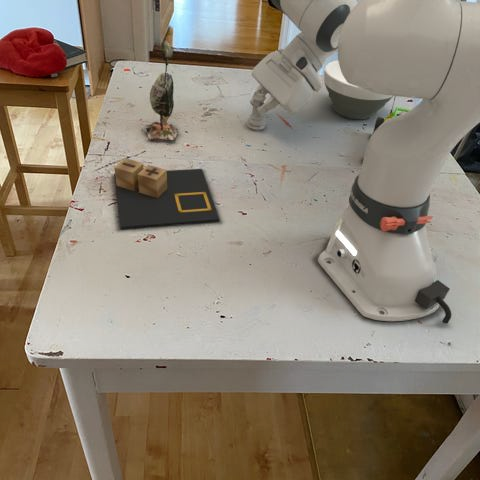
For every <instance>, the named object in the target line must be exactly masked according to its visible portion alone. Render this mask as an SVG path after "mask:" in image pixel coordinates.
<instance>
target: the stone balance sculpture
mask: <svg viewBox="0 0 480 480" xmlns="http://www.w3.org/2000/svg"><path fill="white" fill-rule="evenodd" d="M161 49H162V50H161V51H162V57H161V58H162V60H163V61H165V63H164V64H165V72H162V73H161V74H159V75H158V76H157V78H156V80H155V81H154V83H153V84H152V86H151V88H150V90H149V102H150V105H151V109H152V111H153V112H154V113H155V114H157V115H159V121H154V122H153V121H152V123H151V124H146V126H145V128H144V132H146V133H145V134H146V135H147V136H148V140H150V141H151V140H155V139H159V140H163V141H165V140H166V141H169V142H173V141H176V139H177V136H178V134H179V129H178V128H176V127H175V126H174V125H173V124H172V123H170V124H169V123H168V121H169V119H170V118H171V116H172V114H173V110H174V107H175V106H174V105H175V104H174V102H175V101H174V79H173V76H172V75H171V74H170V73H168V72H167V71H168V66H169V60H171V59H172V58H173V54H174V53H173V49H172V46H171V44H170V43H169V42H168V40H165V41H163V42H162V45H161ZM171 73H174V71H171Z"/></svg>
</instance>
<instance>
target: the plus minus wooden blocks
mask: <svg viewBox="0 0 480 480" xmlns="http://www.w3.org/2000/svg"><path fill="white" fill-rule="evenodd" d="M167 171H168V170H167V169H164V168H161V167H158V166H154V165H151V164H147V165H146V166H145V165H144V162H140V161H136V160H134V159H131V158H126V157H125V158H123V159H122V160H121V161H120V162H119V163H117V164H116V165H115V166H114V174H115V177H116V185H117V186H119V187H122V188H126V189H129V190H132V191H135V190H136V189H137V188H138V187H139V193H142V194H145V195H149V196H152V197H155V198H158V197H159V196H160V195H161V194H162V193H163V192H164V191H165V190H166V189H167Z"/></svg>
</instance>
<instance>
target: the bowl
mask: <svg viewBox="0 0 480 480" xmlns="http://www.w3.org/2000/svg"><path fill="white" fill-rule="evenodd" d="M323 81H324V86H325V88H326V90H327V92H328V97H329V99H330V102H331V103H332V108H333V110H334V111H335V112H336V113H337V114H339V115H340V116H342V117H345V118H348V119H352V120H366V119H371V118H372V117H374V116H375V115H376V114H377V112H378V111H380V110H381V109H383V108H384V107H385V105H386V104H387V103H388V102H390V101H391V100H392V98H393V97H394V96H393V95H384V94H378V93H375V92H372V91H369V90H366V89H363V88H360V87H358V86H355V85H352V84H350V83H348V82H347V81H346V79H345V78H344V76H343V74H342V72H341V69H340V66H339V62H338V59H337V60H333V61H330V62H328V63H327V64H326V65H324V70H323Z"/></svg>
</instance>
